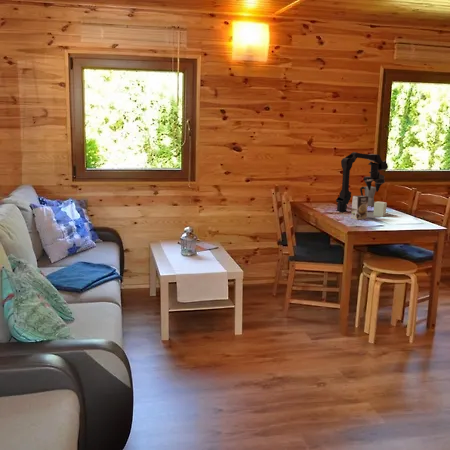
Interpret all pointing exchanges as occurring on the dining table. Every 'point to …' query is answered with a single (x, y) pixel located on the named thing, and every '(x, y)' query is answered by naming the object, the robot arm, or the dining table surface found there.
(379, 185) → the robot arm
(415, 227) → the dining table surface
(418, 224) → the dining table surface
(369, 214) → the mat
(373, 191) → the coffeepot
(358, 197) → the coffee box
